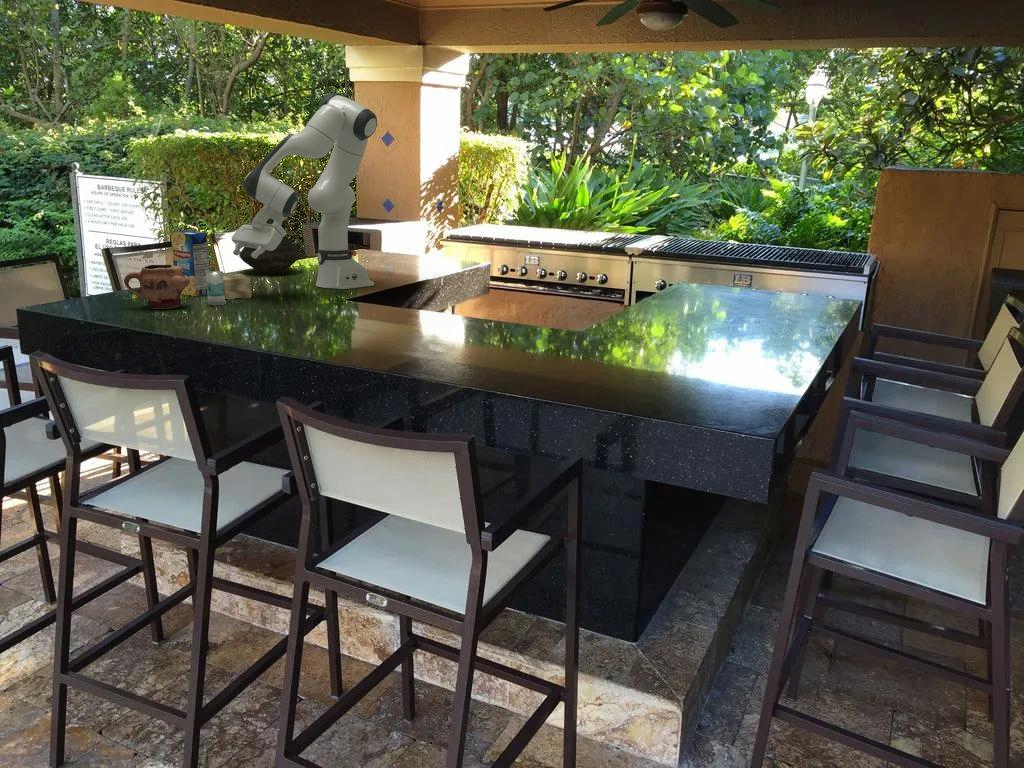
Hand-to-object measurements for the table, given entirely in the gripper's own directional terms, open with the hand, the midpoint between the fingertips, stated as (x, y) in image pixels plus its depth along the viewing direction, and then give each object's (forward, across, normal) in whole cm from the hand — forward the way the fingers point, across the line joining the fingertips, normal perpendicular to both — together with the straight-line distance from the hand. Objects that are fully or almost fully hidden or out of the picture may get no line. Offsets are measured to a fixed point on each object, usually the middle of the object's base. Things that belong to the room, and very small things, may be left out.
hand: (244, 255), depth 296 cm
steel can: (+19, -1, +3) cm, 20 cm away
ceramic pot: (-21, -41, +43) cm, 63 cm away
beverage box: (+15, -23, +8) cm, 28 cm away
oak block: (+10, -9, +12) cm, 18 cm away
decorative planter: (+31, -9, -8) cm, 33 cm away
